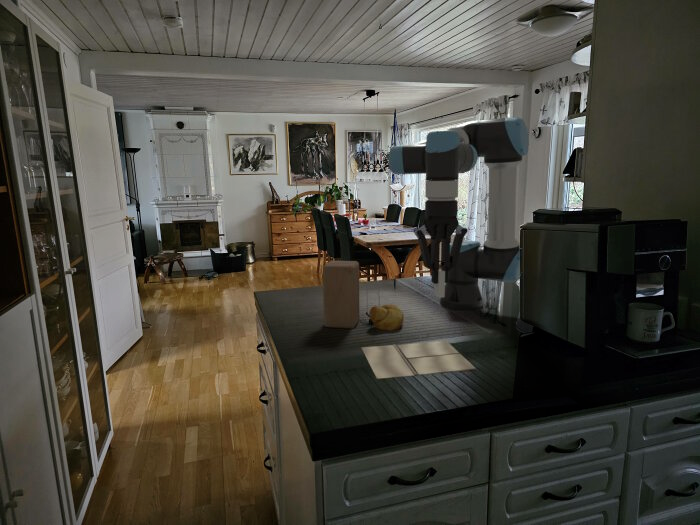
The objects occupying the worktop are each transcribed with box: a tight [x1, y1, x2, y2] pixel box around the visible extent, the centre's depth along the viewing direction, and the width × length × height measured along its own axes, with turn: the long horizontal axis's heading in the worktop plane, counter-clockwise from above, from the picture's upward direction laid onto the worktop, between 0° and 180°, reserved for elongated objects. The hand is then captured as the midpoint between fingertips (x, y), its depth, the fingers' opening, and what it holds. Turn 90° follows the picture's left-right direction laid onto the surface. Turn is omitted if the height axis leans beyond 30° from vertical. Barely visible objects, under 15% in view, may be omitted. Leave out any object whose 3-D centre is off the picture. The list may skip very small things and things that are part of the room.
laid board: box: [360, 344, 418, 380], centre depth 108 cm, size 10×19×1 cm, turn 9°
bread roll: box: [369, 304, 404, 331], centre depth 135 cm, size 13×10×8 cm
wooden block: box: [322, 260, 360, 329], centre depth 138 cm, size 10×10×20 cm
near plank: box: [407, 353, 477, 376], centre depth 106 cm, size 14×9×1 cm, turn 99°
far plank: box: [396, 340, 460, 359], centre depth 115 cm, size 14×9×1 cm, turn 99°
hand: (439, 295), depth 106 cm, fingers closed
